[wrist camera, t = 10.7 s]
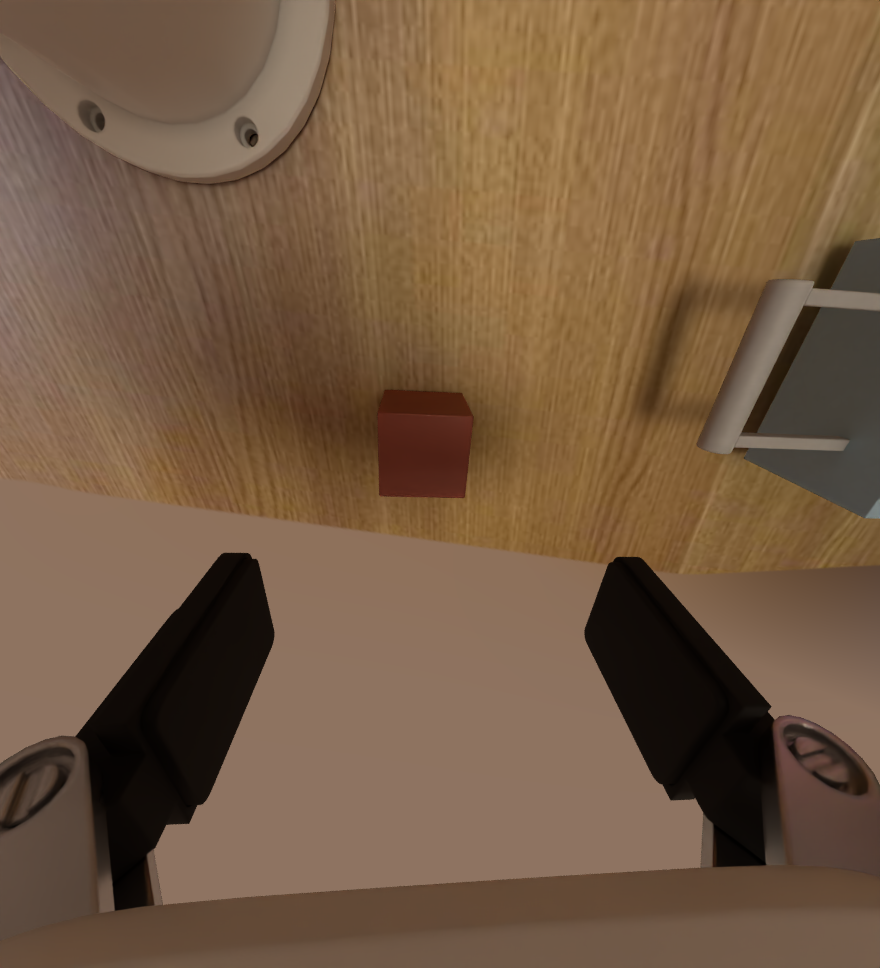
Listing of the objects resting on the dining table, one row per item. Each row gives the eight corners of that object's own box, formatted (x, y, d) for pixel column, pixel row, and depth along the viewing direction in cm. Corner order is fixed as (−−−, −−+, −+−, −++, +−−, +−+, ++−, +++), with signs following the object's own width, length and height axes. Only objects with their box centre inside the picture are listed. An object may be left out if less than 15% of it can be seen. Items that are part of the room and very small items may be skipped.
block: (385, 460, 22) (379, 496, 18) (384, 389, 20) (377, 412, 16) (456, 462, 22) (464, 498, 18) (462, 392, 20) (473, 416, 16)
